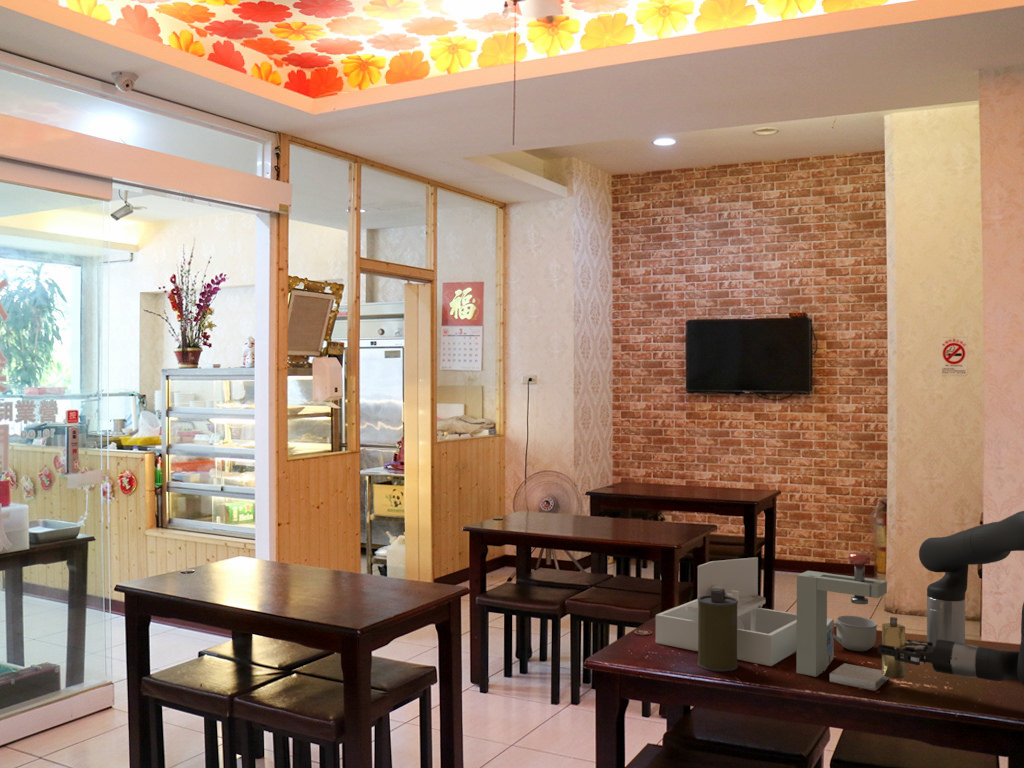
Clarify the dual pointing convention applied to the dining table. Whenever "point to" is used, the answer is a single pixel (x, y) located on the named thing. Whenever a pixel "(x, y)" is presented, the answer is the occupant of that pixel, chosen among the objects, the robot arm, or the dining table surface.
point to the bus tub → (758, 647)
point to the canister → (717, 631)
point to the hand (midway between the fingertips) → (882, 646)
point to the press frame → (822, 614)
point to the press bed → (858, 676)
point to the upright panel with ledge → (732, 587)
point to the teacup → (856, 632)
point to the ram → (859, 573)
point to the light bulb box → (830, 640)
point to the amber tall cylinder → (894, 637)
